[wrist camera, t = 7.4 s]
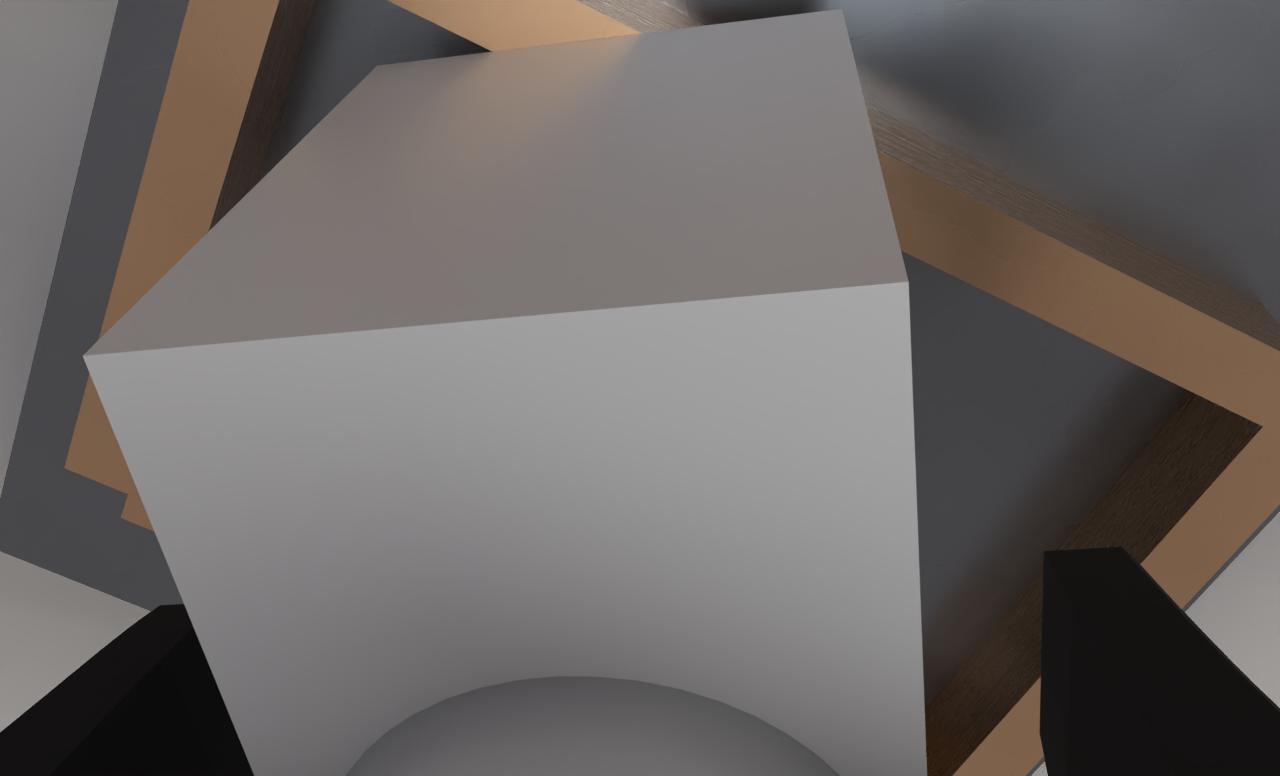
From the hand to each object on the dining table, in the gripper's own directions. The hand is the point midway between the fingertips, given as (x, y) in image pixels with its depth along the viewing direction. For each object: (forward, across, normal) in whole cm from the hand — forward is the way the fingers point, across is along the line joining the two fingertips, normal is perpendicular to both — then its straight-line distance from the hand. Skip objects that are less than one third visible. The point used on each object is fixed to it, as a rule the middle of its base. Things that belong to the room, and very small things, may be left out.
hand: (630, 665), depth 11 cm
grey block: (+4, 0, 0) cm, 4 cm away
